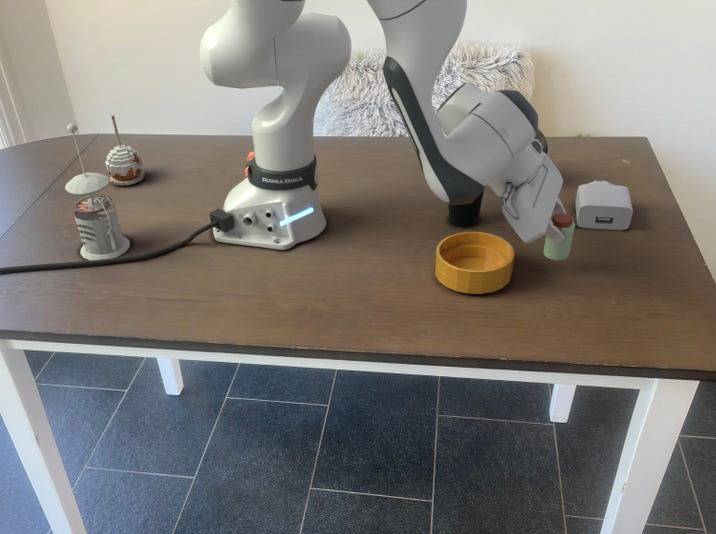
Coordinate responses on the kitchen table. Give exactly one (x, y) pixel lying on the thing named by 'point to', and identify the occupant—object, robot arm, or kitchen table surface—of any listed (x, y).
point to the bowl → (474, 262)
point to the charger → (603, 206)
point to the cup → (465, 213)
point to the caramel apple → (123, 163)
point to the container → (562, 248)
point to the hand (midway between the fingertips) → (564, 232)
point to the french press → (95, 215)
